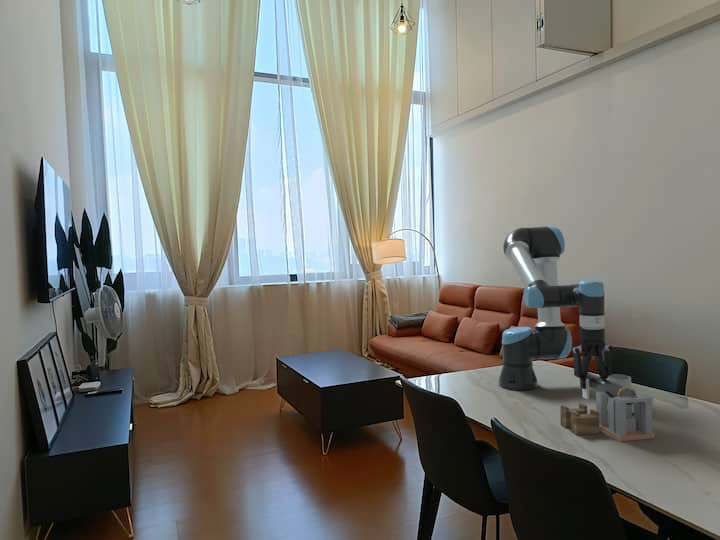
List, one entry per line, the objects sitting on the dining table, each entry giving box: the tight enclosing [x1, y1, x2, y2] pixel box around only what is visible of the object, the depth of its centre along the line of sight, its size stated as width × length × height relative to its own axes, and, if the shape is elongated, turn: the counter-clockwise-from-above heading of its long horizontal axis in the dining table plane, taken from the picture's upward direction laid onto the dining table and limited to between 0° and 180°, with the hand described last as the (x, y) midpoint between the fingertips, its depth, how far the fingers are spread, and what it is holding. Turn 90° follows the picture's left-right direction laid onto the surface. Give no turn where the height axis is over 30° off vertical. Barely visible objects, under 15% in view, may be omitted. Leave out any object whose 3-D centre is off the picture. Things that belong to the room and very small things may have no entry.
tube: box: [587, 371, 637, 405], centre depth 158 cm, size 22×5×5 cm, turn 7°
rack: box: [559, 402, 600, 436], centre depth 155 cm, size 9×7×6 cm
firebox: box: [595, 391, 656, 442], centre depth 154 cm, size 19×11×12 cm, turn 7°
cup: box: [607, 373, 632, 399], centre depth 179 cm, size 7×10×9 cm
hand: (593, 397), depth 166 cm, fingers closed on tube, 4 cm apart
